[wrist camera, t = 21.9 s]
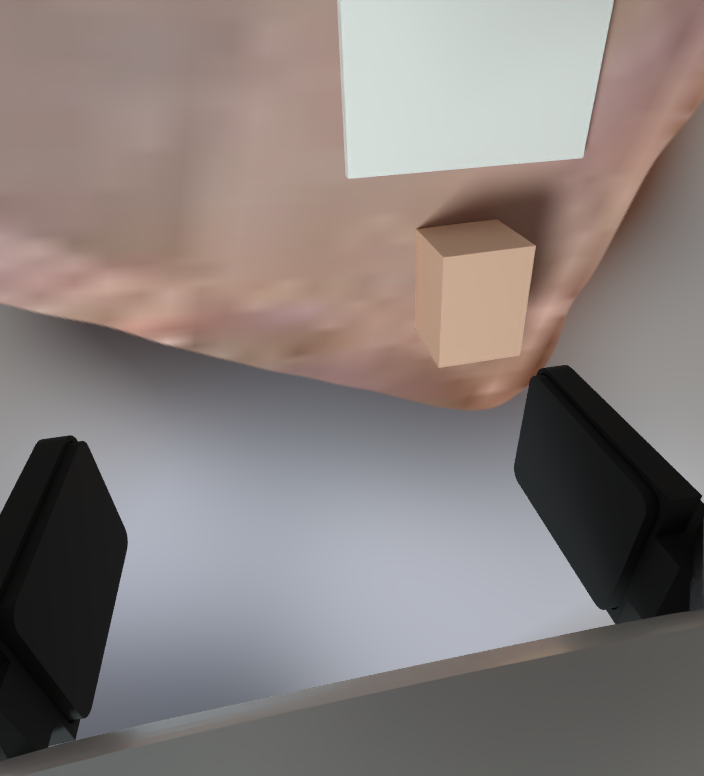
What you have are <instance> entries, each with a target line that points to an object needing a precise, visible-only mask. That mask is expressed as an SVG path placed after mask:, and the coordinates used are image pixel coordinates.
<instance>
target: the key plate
mask: <svg viewBox="0 0 704 776" xmlns="http://www.w3.org/2000/svg"><path fill="white" fill-rule="evenodd" d="M613 2H614V0H337V6H338V27H339V48H340V68H341V89H342V110H343V130H344V151H345V172H346V176H347V178H348V179H351V178H362V177H373V176H385V175H396V174H407V173H418V172H430V171H441V170H452V169H464V168H475V167H486V166H497V165H509V164H520V163H531V162H543V161H554V160H565V159H576V158H583V154H584V149H585V144H586V139H587V134H588V129H589V124H590V119H591V114H592V109H593V104H594V99H595V94H596V89H597V83H598V78H599V73H600V68H601V63H602V58H603V53H604V48H605V43H606V38H607V33H608V28H609V23H610V18H611V12H612V7H613Z"/></svg>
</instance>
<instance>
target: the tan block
mask: <svg viewBox="0 0 704 776" xmlns="http://www.w3.org/2000/svg"><path fill="white" fill-rule="evenodd" d="M535 248H536V245H534V244H533V243H531V242H530V241H528V240H527V239H525V238H524V237H523V236H521V235H520V234H518V233H517V232H515V231H514V230H512V229H511V228H509V227H508V226H506V225H505V224H503V223H502V222H500V221H499V220H498V219H495V220H486V221H478V222H470V223H462V224H453V225H445V226H437V227H429V228H421V229H416V313H415V330H416V331H417V333H418V335H419V336H420V338H421V339H422V341H423V343H424V344H425V346H426V348H427V349H428V351H429V353H430V354H431V356H432V357H433V359H434V361H435V362H436V364H437V366H438V367H439V368H441V367H448V366H454V365H461V364H467V363H474V362H480V361H487V360H493V359H500V358H506V357H513V356H519V355H520V351H521V344H522V337H523V331H524V324H525V317H526V310H527V303H528V296H529V289H530V283H531V276H532V269H533V262H534V255H535Z"/></svg>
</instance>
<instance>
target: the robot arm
mask: <svg viewBox="0 0 704 776" xmlns="http://www.w3.org/2000/svg"><path fill="white" fill-rule="evenodd" d="M514 472H515V476H516V479H517V481H518V483H519V485H520V486H521V488H522V489H523V491H524V492H525V494H526V495H527V497H528V499H529V500H530V502H531V504H532V505H533V507H534V508H535V510H536V511H537V513H538V515H539V516H540V518H541V519H542V521H543V522H544V524H545V526H546V527H547V529H548V530H549V532H550V533H551V535H552V537H553V538H554V540H555V541H556V543H557V545H559V548H560V549H561V551H562V552H563V554H564V556H565V557H566V559H567V560H568V562H569V563H570V565H571V567H572V568H573V570H574V571H575V573H576V574H577V576H578V578H579V579H580V581H581V582H582V584H583V585H584V587H585V589H586V590H587V592H588V593H589V595H590V596H591V598H592V600H593V601H594V602H595V604H596V605H597V606H598V607H599V608H600V609H602V610H607V612H608V613H609V615H610V616H611V618H612V619H613V621H614V623H615V625H610V626H604V627H599V628H594V629H589V630H584V631H580V632H575V633H570V634H565V635H560V636H556V637H551V638H546V639H541V640H536V641H531V642H526V643H522V644H517V645H512V646H507V647H503V648H497V649H493V650H488V651H483V652H478V653H473V654H468V655H464V656H459V657H454V658H450V659H445V660H440V661H435V662H431V663H426V664H421V665H417V666H412V667H407V668H402V669H398V670H393V671H388V672H383V673H379V674H374V675H369V676H365V677H360V678H356V679H351V680H346V681H341V682H337V683H332V684H327V685H323V686H318V687H313V688H309V689H304V690H299V691H295V692H290V693H285V694H281V695H276V696H272V697H267V698H262V699H258V700H253V701H249V702H244V703H240V704H235V705H230V706H226V707H221V708H217V709H212V710H207V711H203V712H198V713H194V714H189V715H184V716H180V717H175V718H171V719H167V720H162V721H157V722H153V723H149V724H145V725H141V726H136V727H132V728H128V729H123V730H119V731H115V732H111V733H106V734H102V735H98V736H94V737H89V738H85V739H81V740H77V741H74V740H75V739H76V735H77V730H78V726H79V722H80V719H83V718H86V717H87V716H88V715H89V713H90V711H91V708H92V704H93V699H94V695H95V690H96V686H97V682H98V677H99V673H100V668H101V664H102V659H103V654H104V650H105V646H106V641H107V637H108V632H109V628H110V623H111V619H112V614H113V610H114V605H115V601H116V596H117V592H118V587H119V582H120V578H121V573H122V569H123V565H124V560H125V555H126V551H127V544H128V541H127V533H126V530H125V527H124V525H123V523H122V521H121V518H120V516H119V514H118V512H117V509H116V507H115V505H114V503H113V500H112V498H111V496H110V494H109V492H108V489H107V487H106V485H105V482H104V480H103V478H102V476H101V474H100V472H99V469H98V467H97V465H96V462H95V460H94V458H93V456H92V453H91V451H90V449H89V447H88V445H87V443H86V442H84V441H79V442H78V441H77V439H76V438H75V437H73V436H63V437H56V438H49V439H42V440H39V441H38V442H37V444H36V445H35V447H34V449H33V451H32V453H31V455H30V457H29V459H28V461H27V463H26V465H25V467H24V469H23V471H22V473H21V475H20V476H19V478H18V480H17V482H16V484H15V486H14V488H13V490H12V492H11V494H10V496H9V498H8V500H7V502H6V504H5V506H4V508H3V510H2V512H1V514H0V776H704V503H702V501H701V500H700V499H701V497H702V495H701V494H700V493H699V492H698V491H697V490H696V489H695V488H694V487H692V485H690V483H689V482H688V481H687V480H685V478H684V477H682V476H681V475H680V474H679V473H678V472H677V471H676V470H675V469H674V468H673V467H672V466H671V465H670V464H669V463H668V462H667V461H666V460H665V459H664V458H663V457H662V456H661V455H660V454H659V453H658V452H657V451H656V450H655V449H654V448H653V447H652V446H651V445H650V444H649V443H647V441H646V440H645V439H644V438H643V437H641V436H640V435H639V434H638V433H637V432H636V431H635V430H634V429H633V428H632V427H631V426H630V425H629V424H628V423H627V422H626V421H625V420H624V419H623V418H622V417H621V416H620V415H619V414H618V413H617V412H616V411H615V410H614V409H613V408H612V407H611V406H610V405H609V404H608V403H607V402H606V401H605V400H604V399H602V397H601V396H600V395H599V394H598V393H597V392H596V391H594V390H593V389H592V388H591V387H590V386H589V385H588V384H587V383H586V382H585V381H584V380H583V379H582V378H581V377H580V376H579V375H578V374H577V373H576V372H575V371H574V370H573V369H572V368H571V367H569V366H568V365H562V366H554V367H547V368H542V369H540V370H539V371H538V372H537V375H536V376H533V377H532V378H531V379H530V383H529V388H528V393H527V399H526V404H525V410H524V415H523V420H522V426H521V431H520V437H519V442H518V447H517V453H516V459H515V464H514ZM641 619H642V620H641ZM69 741H72V742H69ZM64 742H68V743H64ZM59 743H64V744H59ZM54 744H59V745H56V746H52V747H49V748H48V746H50V745H54Z"/></svg>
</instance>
